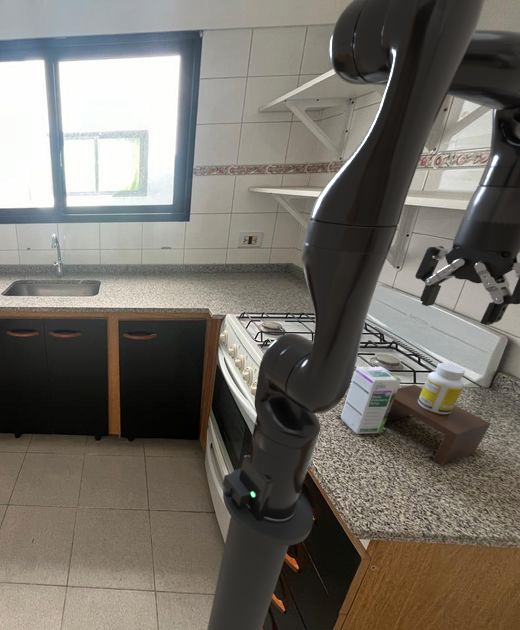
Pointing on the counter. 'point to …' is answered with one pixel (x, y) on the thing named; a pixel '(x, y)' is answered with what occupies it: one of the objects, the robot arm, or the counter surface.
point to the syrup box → (369, 399)
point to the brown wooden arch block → (442, 424)
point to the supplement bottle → (442, 389)
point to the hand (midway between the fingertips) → (455, 313)
